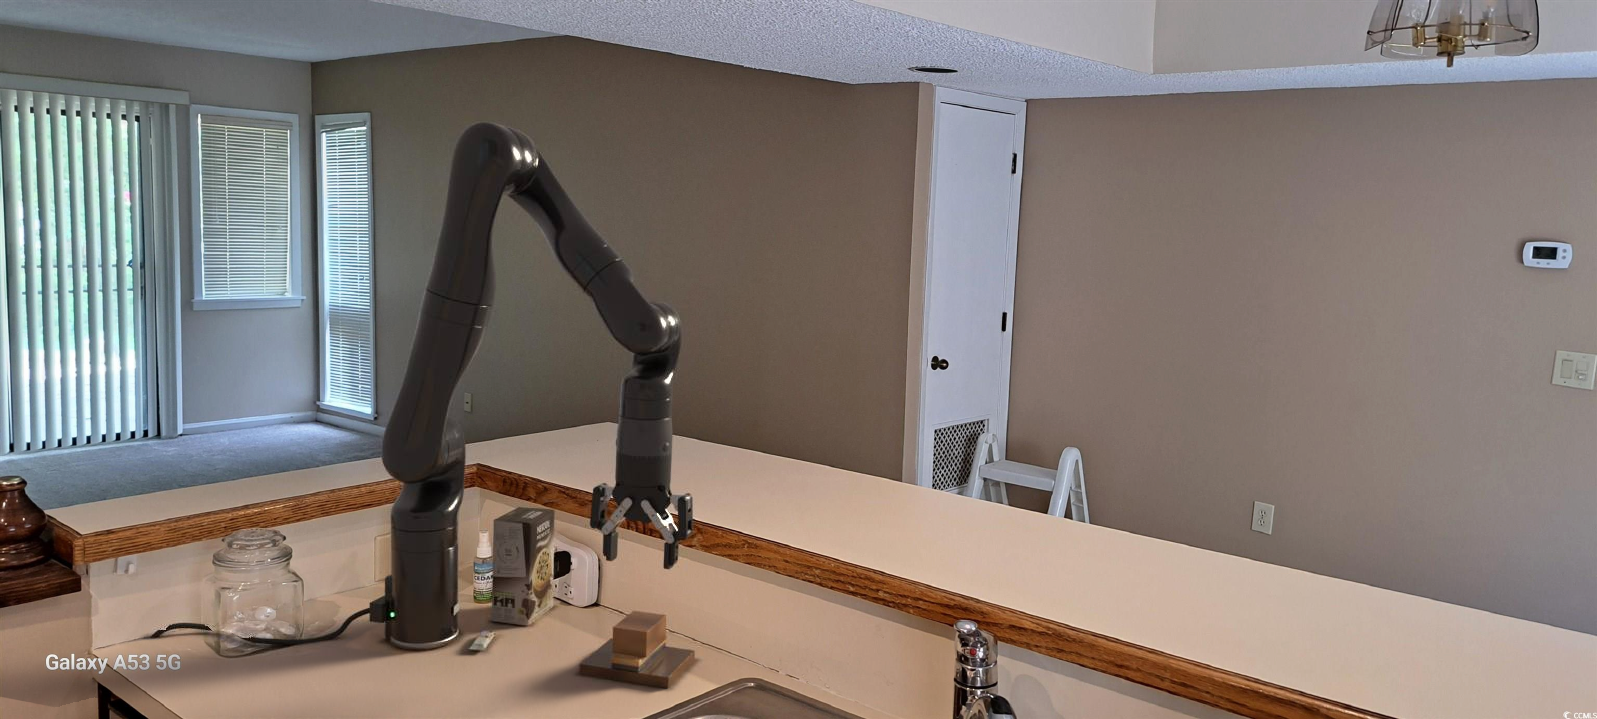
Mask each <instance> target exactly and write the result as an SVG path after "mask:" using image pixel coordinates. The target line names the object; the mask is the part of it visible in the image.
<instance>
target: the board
mask: <svg viewBox="0 0 1597 719" xmlns="http://www.w3.org/2000/svg"><path fill="white" fill-rule="evenodd" d="M612 647H613V637H611V638H609V639H608V640H607V641H606V642H605V643H603V644H602V645H601V646H600V647H598V648H597V649H596V650H595V651H593V652H592V653H591V654H589V656H588V657H586V658H585V659H584V660H582V661H581V662H580V663H579V675H583V676H588V677H589V676H590V677H595V678H602V679H608V680H615V681H619V682H620V681H621V682H627V683H631V684H632V683H633V684H639V685H645V686H652V687H657V688H658V687H659V688H666V689H669V688H670V687H671V686H672V685H673V684H674V683H675V682H676V681H677V680H678V678H680V676H681V675H682V674H683V673H685V671H686V670H687V669H688V668H689V667H690V666H691V665H692V664H693V663H694V662H695V660H696V658H695V655H696V650H694V649H686V648H680V647H675V646H674V647H673V646H667V645H666V646H665V647H664V648H663V649H662V650H661V651H660V652H659V653H658V654H657V655H656V656H655V657H654V658H653V659H652V660H651V661H650V662H649V663H648V664H647V665H645V666H644V667H643V668H642V669H641V670H640V671H639V672H635V671H628V670H622V669H616V668H611V666H612V663H610V657H611V656H612V655H614V654H615V653H613V652H612Z"/></svg>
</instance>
